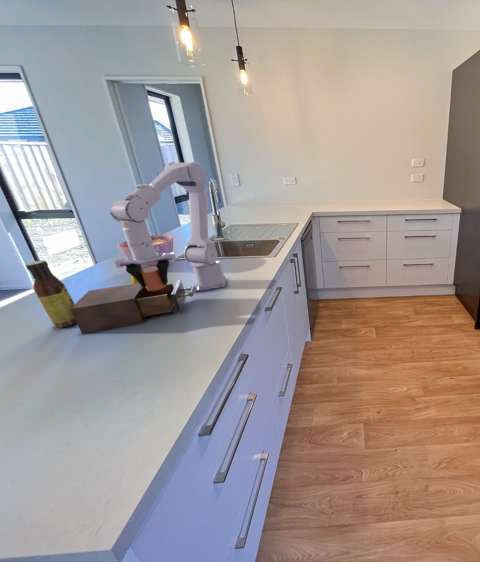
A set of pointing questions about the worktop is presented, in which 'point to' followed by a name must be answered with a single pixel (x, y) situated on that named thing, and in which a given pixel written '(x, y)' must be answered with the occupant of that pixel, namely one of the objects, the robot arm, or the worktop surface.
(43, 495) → the worktop surface
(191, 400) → the worktop surface
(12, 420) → the worktop surface
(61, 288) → the sauce bottle
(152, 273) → the orange block
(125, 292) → the cabinet
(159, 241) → the bowl of food
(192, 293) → the drawer
